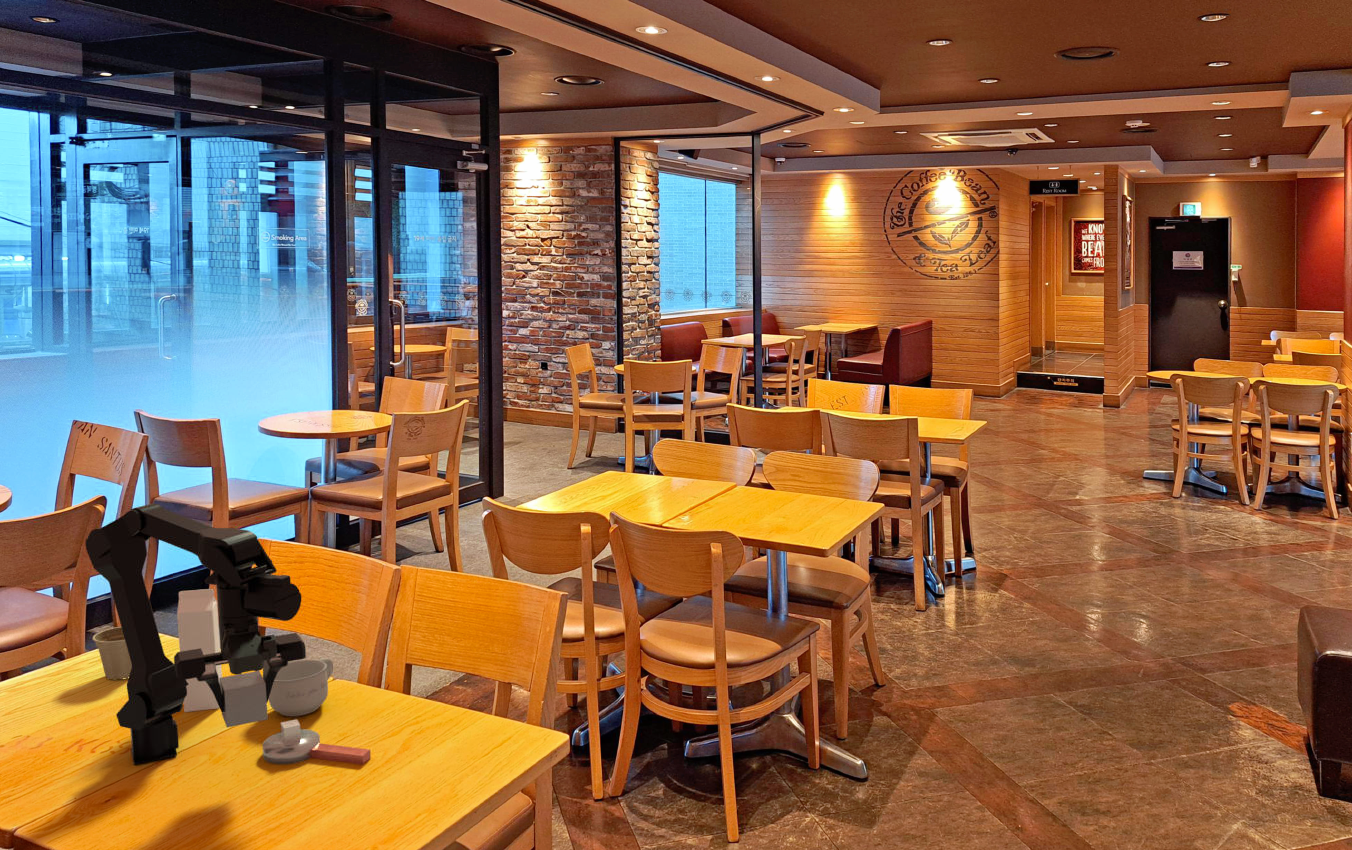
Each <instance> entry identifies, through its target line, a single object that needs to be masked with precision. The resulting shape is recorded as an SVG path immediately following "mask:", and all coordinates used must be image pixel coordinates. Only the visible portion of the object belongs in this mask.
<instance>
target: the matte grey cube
mask: <svg viewBox="0 0 1352 850" xmlns="http://www.w3.org/2000/svg"><path fill="white" fill-rule="evenodd" d="M219 681H220V688H221V693H222V697H223V702H224V712H221V715H222V718H223V721H224V723H225V724H224V725H225V726H226V728H232V727H236V726H242V725H246V724H252V723H257V722H262V721H267V720H269V717H268V702H267V699H266V683H265V681H264V679H263V674H262V673H261V670H260V671H249V672H243V673H242V674H237V675H236V674H233V675H228V676H222V677H221V678H219Z"/></svg>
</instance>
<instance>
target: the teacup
mask: <svg viewBox="0 0 1352 850" xmlns="http://www.w3.org/2000/svg"><path fill="white" fill-rule="evenodd" d="M333 672H334V663H333V661H332V659H331V658H329V657H321V658H319V659H318V660H317V659H300V660H295V661H289V662H288V665H287V666H286V667H282V668H281V669H280V670H279V671H278V673H277V675H276V677H275V680H274V682H273V686H272V689H271V692H270V696H269V699H268V702H269V706H270V707H271V708H272V709H273V710H274V711H276V712H277V713H279V714H281V715H282V716H283V717H284V716H285V717H301V716H305V715H308V714H311V713H313V712H315V711H316V710H318V709H319V708H320V707H321V705H322V704H323V703H324V702H325V701H326V699H327V697H328V695H329V693H328V692H329V685H328V684H329V682H328V681H329V680H330V677H331V676H332V673H333Z"/></svg>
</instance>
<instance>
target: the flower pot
mask: <svg viewBox="0 0 1352 850" xmlns="http://www.w3.org/2000/svg"><path fill="white" fill-rule="evenodd" d="M92 640H93V642H95V646H96V648H98V653H99V656H100V660H101V664H102V667H103V671H104V676H105V678H106V677H107V678H108V679H107V678H106V679H107V680H109V679H116V680H122V679H123V678H128V677H129V675H130V672H131V668H132V663H131V660H130V656H129V652H128V649H127V645H126V642H125V638H124V634H123V631H122V627H121V626H118V627H117V626H116V627H113V628H112V627H111V628H108V629H105V630H104V629H103V630H102V631H99V632H96V633H95V634H94V635H93V636H92Z"/></svg>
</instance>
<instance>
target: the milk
mask: <svg viewBox="0 0 1352 850" xmlns="http://www.w3.org/2000/svg"><path fill="white" fill-rule="evenodd" d="M177 604H178V606H177V611H176V612H177V613H176V615H177V616H176V617H177V618H176V619H177V628H178V630H177V632H178V642H179V652H181V651H187V650H193V649H199V648H201V650H202V652H203V655H206V654H212V653H218V652H221V649H220V634H219V619H218V603H217V598H216V597H215V591H214V589H212V588H207V589H196V590H195V589H194V590H193V589H192V590H181V591H178V603H177ZM215 669H216V671H217V674H218V677H219V678H221V677H223V673H222V672H223V671H222V665H216V668H215ZM186 681H187V683H188V685H187V686H186V687H187V696H186V697H185V699H184V702H183V711H184V713H189V712H190V713H191V712H198V711H209V710H217V709H219V710H220V708H219V705H218V703H217V701H216V698H215V696H214V694H213V692H212V690H211V689H210V687H209V686H208V684H207V683H206V682H205V681H198V680H197V678H191V679H186ZM219 683H220V681H219Z"/></svg>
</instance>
